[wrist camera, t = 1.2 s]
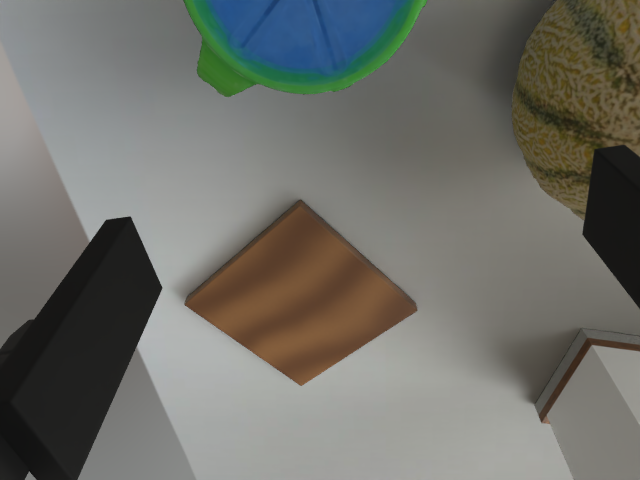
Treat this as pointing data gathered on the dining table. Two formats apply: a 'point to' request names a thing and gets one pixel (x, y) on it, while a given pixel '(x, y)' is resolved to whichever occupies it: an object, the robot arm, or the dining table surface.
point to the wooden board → (300, 296)
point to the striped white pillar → (597, 406)
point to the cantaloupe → (578, 93)
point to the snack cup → (297, 41)
